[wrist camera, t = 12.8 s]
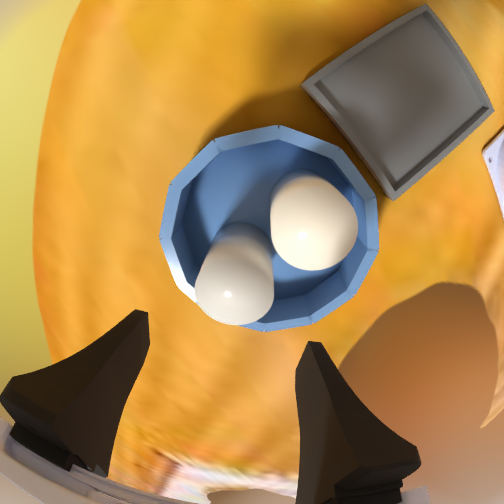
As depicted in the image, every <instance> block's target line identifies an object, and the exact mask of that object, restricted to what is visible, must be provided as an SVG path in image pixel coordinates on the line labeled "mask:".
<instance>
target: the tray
mask: <svg viewBox="0 0 504 504" xmlns="http://www.w3.org/2000/svg"><path fill="white" fill-rule="evenodd" d="M300 87H301V88H302V89H303V90H304V91H305V92H306V93H307V94H308V95H309V96H310V97H311V98H312V100H313V101H314V102H315V103H316V104H317V105H318V106H319V108H320V109H321V110H322V111H323V112H324V113H325V114H326V116H327V117H328V118H329V119H330V120H331V122H332V123H333V124H334V125H335V126H336V128H337V129H338V130H339V131H340V133H341V134H342V135H343V136H344V138H345V139H346V140H347V142H348V143H349V144H350V145H351V147H352V148H353V149H354V151H355V152H356V153H357V155H358V156H359V157H360V159H361V160H362V162H363V163H364V164H365V166H366V167H367V168H368V170H369V171H370V173H371V174H372V176H373V177H374V178H375V180H376V181H377V183H378V184H379V186H380V187H381V189H382V190H383V192H384V193H385V195H386V196H387V197H388V198H389V199H391V200H392V201H395V200H396V199H397V198H398V197H399V196H401V195H402V194H403V193H404V192H405V191H407V190H408V189H409V188H410V187H411V186H412V185H414V184H415V183H416V182H417V181H418V180H420V179H421V178H422V177H423V176H424V175H425V174H426V173H428V172H429V171H430V170H431V169H432V168H433V167H435V166H436V165H437V164H438V163H439V162H440V161H441V160H442V159H444V158H445V157H446V156H447V155H448V154H449V153H450V152H451V151H452V150H454V149H455V148H456V147H457V146H458V145H459V144H460V143H461V142H462V141H463V140H465V139H466V138H467V137H468V136H469V135H470V134H471V133H472V132H473V131H474V130H475V129H476V128H477V127H478V126H479V125H481V124H482V123H483V122H484V121H485V120H486V119H487V118H488V117H489V116H490V115H491V114H492V113H493V112H494V109H493V106H492V104H491V102H490V100H489V98H488V96H487V94H486V92H485V90H484V88H483V86H482V84H481V83H480V81H479V79H478V77H477V75H476V73H475V72H474V70H473V68H472V67H471V65H470V63H469V62H468V60H467V58H466V57H465V55H464V54H463V52H462V50H461V49H460V47H459V46H458V44H457V43H456V41H455V40H454V39H453V37H452V36H451V34H450V33H449V32H448V30H447V29H446V27H445V26H444V25H443V23H442V22H441V21H440V20H439V18H438V17H437V16H436V15H435V13H434V12H433V11H432V10H431V8H430V7H429V6H428V5H427V4H424V5H422V6H420V7H418V8H416V9H414V10H412V11H410V12H409V13H407V14H405V15H403V16H402V17H400V18H398V19H396V20H395V21H393V22H391V23H389V24H388V25H386V26H384V27H383V28H381V29H380V30H378V31H376V32H375V33H373V34H372V35H370V36H368V37H367V38H365V39H364V40H362V41H361V42H359V43H358V44H356V45H355V46H353V47H352V48H350V49H349V50H347V51H346V52H344V53H343V54H341V55H340V56H338V57H337V58H336V59H334V60H333V61H331V62H330V63H329V64H327V65H326V66H324V67H323V68H322V69H320V70H319V71H318V72H316V73H315V74H314V75H312V76H311V77H310V78H308V79H307V80H306V81H304V82H303V83H302V84H301V85H300Z"/></svg>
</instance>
